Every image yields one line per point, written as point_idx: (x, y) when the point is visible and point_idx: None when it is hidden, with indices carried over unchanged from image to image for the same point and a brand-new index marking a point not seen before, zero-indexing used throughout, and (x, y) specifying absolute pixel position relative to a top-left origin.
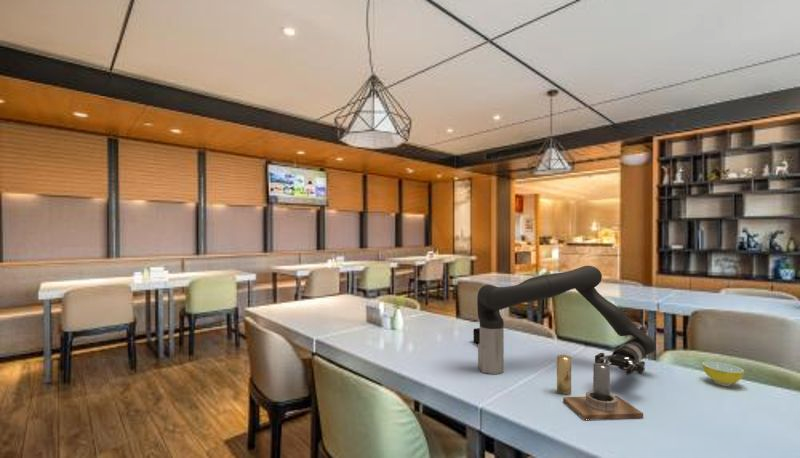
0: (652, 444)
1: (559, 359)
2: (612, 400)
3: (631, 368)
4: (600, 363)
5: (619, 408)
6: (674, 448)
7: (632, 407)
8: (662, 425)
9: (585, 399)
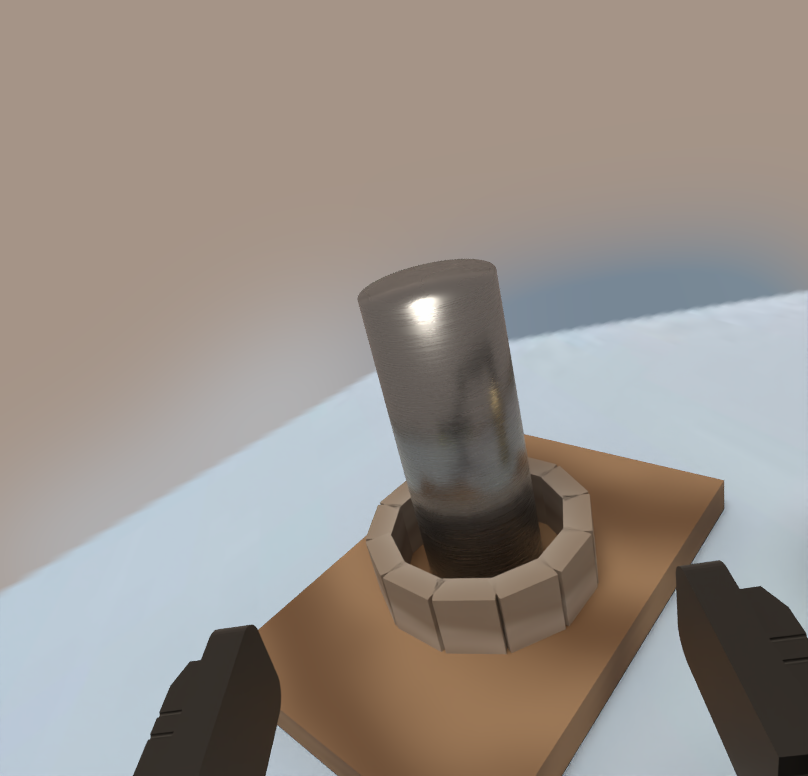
0: (215, 494)
1: None
2: (395, 522)
3: (175, 712)
4: (453, 294)
5: (372, 606)
6: (135, 525)
7: (293, 693)
8: (128, 686)
9: (611, 555)
